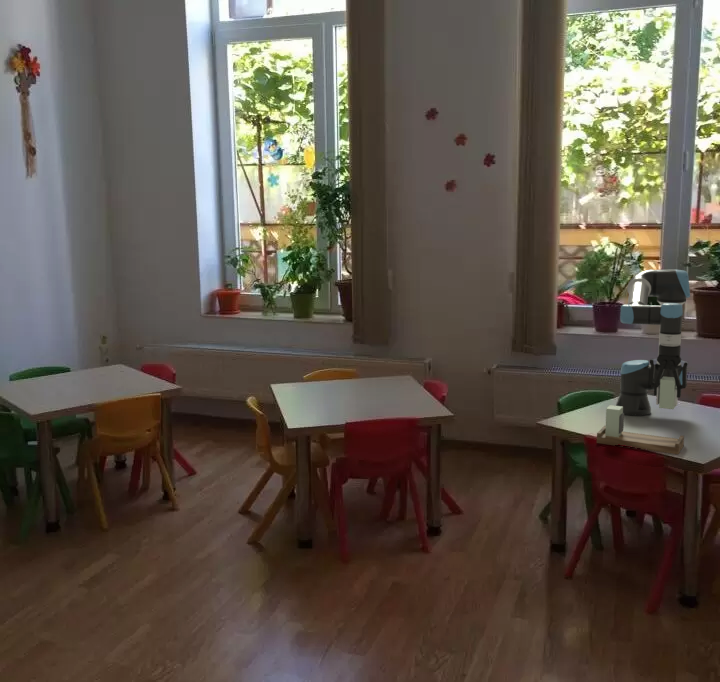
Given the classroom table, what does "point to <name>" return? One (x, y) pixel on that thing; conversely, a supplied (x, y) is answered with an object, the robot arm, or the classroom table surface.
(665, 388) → the block
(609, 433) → the fixed block
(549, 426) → the classroom table surface
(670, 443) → the rail
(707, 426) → the classroom table surface
